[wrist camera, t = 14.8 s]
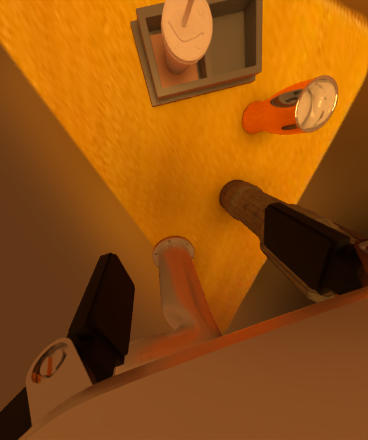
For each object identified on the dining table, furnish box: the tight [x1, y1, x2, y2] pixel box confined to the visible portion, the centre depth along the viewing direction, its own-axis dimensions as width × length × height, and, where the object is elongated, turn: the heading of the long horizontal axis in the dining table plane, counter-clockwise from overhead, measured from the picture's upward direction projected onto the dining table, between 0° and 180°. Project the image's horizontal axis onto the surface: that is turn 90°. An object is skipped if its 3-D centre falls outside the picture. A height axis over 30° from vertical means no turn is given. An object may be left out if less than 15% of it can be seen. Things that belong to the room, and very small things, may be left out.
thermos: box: [220, 180, 368, 303], centre depth 28 cm, size 9×12×35 cm
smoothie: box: [161, 0, 213, 75], centre depth 21 cm, size 6×6×14 cm
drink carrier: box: [130, 0, 263, 107], centre depth 27 cm, size 11×21×4 cm, turn 103°
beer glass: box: [242, 75, 338, 135], centre depth 28 cm, size 7×7×15 cm
